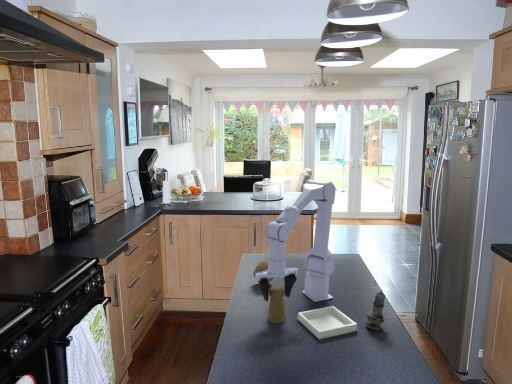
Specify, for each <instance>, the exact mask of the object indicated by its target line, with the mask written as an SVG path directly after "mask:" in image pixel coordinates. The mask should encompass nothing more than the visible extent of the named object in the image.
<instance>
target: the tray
mask: <svg viewBox="0 0 512 384" xmlns="http://www.w3.org/2000/svg"><path fill="white" fill-rule="evenodd" d="M297 320H298V322H300V324H302V325H303V326H304V327H305V328H306V329H307V330H308V331H309V332H310V333H311V334H312V335H314V337H316V338H317V340H323V339H328V338H332V337H337V336H341V335H346V334H350V333H355V332H357V331H358V323H357V322H355V321H354V320H352V319H351V318H350V317H349V316H347V315H346V314H345V313H343V312H342V311H341V310H339V309H338V308H337V307H335V306H334V305H330V306H325V307H320V308H315V309H310V310H305V311H301V312H297Z"/></svg>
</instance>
